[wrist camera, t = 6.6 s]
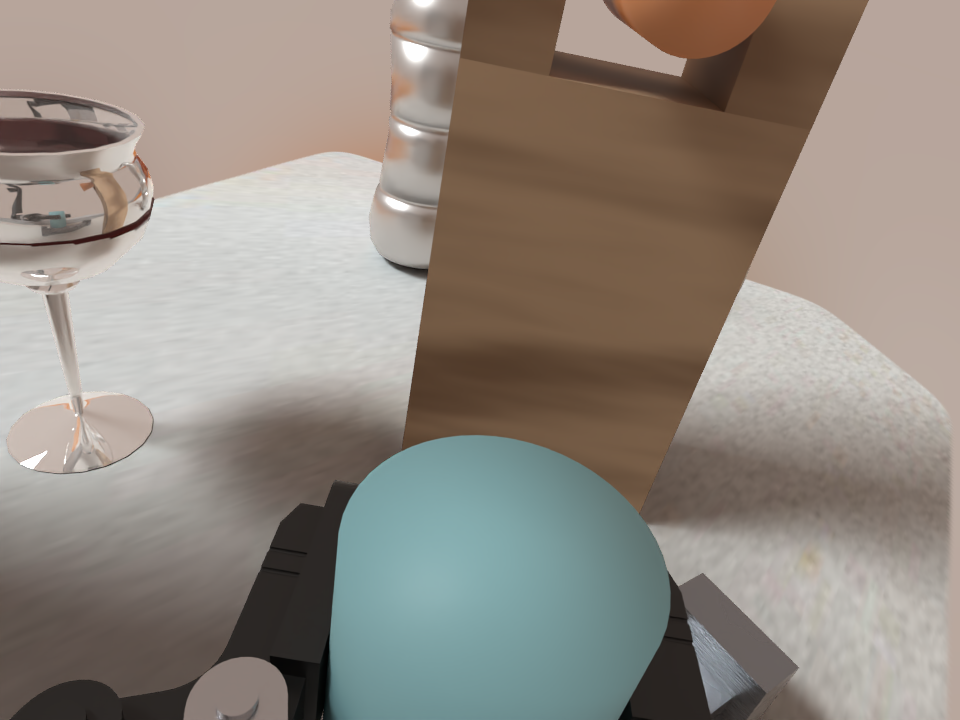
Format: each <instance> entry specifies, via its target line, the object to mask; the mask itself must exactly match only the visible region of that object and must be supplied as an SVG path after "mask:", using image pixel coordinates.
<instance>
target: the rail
mask: <svg viewBox="0 0 960 720" xmlns="http://www.w3.org/2000/svg"><path fill="white" fill-rule="evenodd" d="M678 588H679V589H680V591H681V592H682V596H683V600H684V605H685V609H686V613H687V617H688V620H687V623H688V624H689V626H690V630H691V634H692V638H693V643H692V644H693V646H694V647H695V651H696V655H697V659H698V664H699V668H700V672H701V676H702V680H703V685H704V689H705V693H706V697H707V701H708V706H709V710H710V714H711V718H712V720H758V719H759V718H760V717H761V716H762V714H763V713H764V712H765V710H766V709H767V708H768V707H769V705H770V704H771V703H772V702H773V700H774V699H775V698H776V696H777V695H778V694H779V693H780V691H781V690H782V689H783V688H784V686H785V685H786V684H787V682H788V681H789V680H790V679H791V677H792V676H793V675H794V674H795V672H796V671H797V670H798V669H799V667H798V666H797V665H796V664H795V663H794V662H793V661H792V660H791V659H790V658H789V657H788V656H787V655H786V654H785V653H784V652H783V651H782V650H780V649H779V648H778V647H777V646H776V645H775V644H774V643H773V642H772V641H771V640H770V639H769V638H768V637H767V636H766V635H765V634H764V633H763V632H762V631H761V630H760V629H759V628H758V627H757V626H756V625H755V624H754V623H753V622H752V621H751V620H750V619H749V618H748V617H747V616H746V615H745V614H744V613H743V612H742V611H741V610H740V609H739V608H738V607H737V606H736V605H735V604H734V603H733V602H732V601H731V600H730V599H729V598H728V597H727V596H726V595H725V594H724V593H723V592H722V591H721V590H720V589H719V588H718V587H717V586H716V585H715V584H714V583H713V582H712V581H710V580H709V579H708V578H707V577H706V576H705V575H704V574H703V573H702V574H700V575H699V576H697V577H695V578H693V579H691V580H690V581H688V582H686V583H684V584H682V585H681V586H679V587H678Z"/></svg>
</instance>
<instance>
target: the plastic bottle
mask: <svg viewBox="0 0 960 720" xmlns="http://www.w3.org/2000/svg"><path fill="white" fill-rule="evenodd" d="M467 5H468V0H394V3H393V6H392V8H391V17H390V29H391V35H390V42H391V78H392V83H391V84H392V85H391V100H390V110H391V116H390V117H389V133H388V139H387V144H386V149H385V154H384V160H383V165H382V170H381V175H380V180H379V181H380V183H379V184H378V186H377V188H376V191H375V194H374V197H373V202H372V206H371V210H370V214H369V223H370V236H371V240H372V242H373V244H374V246H375V247H376V249H377V251H378V252H379V254H380V255H381V256H383V257H384V258H386V259H388V260H390V261H391V262H394V263H397V264H399V265H403V266H407V267H412V268H419V269H429V262H430V255H431V248H432V242H433V235H434V228H435V221H436V214H437V208H438V201H439V194H440V187H441V181H442V174H443V167H444V160H445V154H446V147H447V140H448V133H449V127H450V120H451V113H452V106H453V99H454V93H455V86H456V79H457V72H458V66H459V59H460V52H461V45H462V39H463V32H464V25H465V18H466V11H467Z"/></svg>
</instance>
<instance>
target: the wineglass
mask: <svg viewBox="0 0 960 720" xmlns="http://www.w3.org/2000/svg"><path fill="white" fill-rule="evenodd" d="M144 127H145V124H144V123H143V122H142V120H141V119H140V118H139V117H138V116H137V115H135V114H133V113H131V112H129V111H127V110H125V109H123V108H121V107H119V106H115V105H112V104H108V103H105V102H102V101H98V100H95V99H90V98H84V97H79V96H73V95H67V94H62V93H52V92H43V91H32V90H17V89H0V282H1V283H7V284H14V285H20V286H26V287H28V288H29V289H30V290H32V291H33V292H35V293H38V294H42V297H43V301H44V305H45V308H46V312H47V316H48V319H49V323H50V327H51V330H52V334H53V338H54V341H55V345H56V349H57V352H58V356H59V360H60V363H61V367H62V371H63V374H64V378H65V382H66V385H67V389H68V392H69V395H65V396H60V397H58V398H55V399H52V400H50V401H47V402H44V403H42V404H40V405H38V406H36V407H35V408H33V409H31V410H30V411H28V412H26V413H25V414H23V415H22V416H21V417H20V418H19V420H18V421H17V422H16V423H15V424H14V425H13V426H12V427H11V429H10V432H9V434H8V437H7V439H6V441H7V446H8V452H9V453H10V454H11V455H12V457H13V458H14V459H15V460H16V461H17V462H18V463H20V464H22V465H24V466H27V467H29V468H32V469H34V470H36V471H44V472H52V473H71V472H84V471H88V470H91V469H95V468H99V467H103V466H107V465H109V464H111V463H113V462H116V461H118V460H120V459H122V458H124V457H126V456H128V455H129V454H131V453H132V452H133V451H134V450H136V449H137V448H138V447H140V446H141V445H142V444H143V443H144V441H145V440H146V438H147V437H148V436H149V434H150V433H151V430H152V423H153V418H152V416H151V413H150V411H149V409H148V408H147V407H146V406H145V405H144V404H142V403H141V402H140V401H139V400H137V399H135V398H132V397H129V396H127V395H124V394H120V393H113V392H106V391H95V392H82V386H81V379H80V372H79V365H78V357H77V350H76V343H75V336H74V329H73V321H72V314H71V307H70V300H69V292H68V291H71V290H73V289H74V288H75V287H76V286H77V284H78V283H79V282H80V280H84V279H88V278H92V277H94V276H96V275H98V274H100V273H103V272H105V271H107V270H108V269H109V268H110V267H112V266H113V265H114V264H115V263H116V262H117V261H118V260H119V259H121V258H122V257H123V256H124V255H125V254H126V253H127V252H128V251H129V250H130V249H131V248H132V247H133V246H135V245H136V244H137V243H138V242H139V241H140V240H141V239H142V238H143V236H144V233H145V230H146V227H147V224H148V222H149V219H150V215H151V211H152V207H153V203H154V198H153V186H154V185H153V183H152V180H151V177H150V174H149V171H148V168H147V167H146V165H145V164H144V163H143V161H142V160H141V159H140V157H139V156H138V155H137V153H136V151H135V147H136V144H137V142H138V140H139V138H140V137H141V135H142V133H143V130H144Z"/></svg>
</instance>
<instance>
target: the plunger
mask: <svg viewBox="0 0 960 720" xmlns="http://www.w3.org/2000/svg"><path fill="white" fill-rule="evenodd" d="M603 1H604V3H605V4H606V6H607V8H608V9H609V10H610V11H611V13H612V14H613V15H615V16H616V17H617V18H618V19H619V20H621V21H622V22H623V23H625V24H626V25H628V26H629V27H630V28H631V29H633V30H634V31H635V32H637V33H638V34H639V35H641V36H642V37H644V38H645V39H646V40H647V41H649V42H650V43H651V44H653V45H654V46H655V47H657V48H658V49H660V50H661V51H663V52H665V53H668V54H670V55H673V56H676V57H680V58H687V59H700V58H707V57H711V56H715V55H718V54H721V53H723V52H725V51H728V50H730V49H731V48H733V47H735V46H737V45H738V44H740V43H741V42H742V41H744V40H745V39H746V38H748V37H749V36H750V35H751V34H752V33H753V32H754V31H755V30H756V29H757V28H758V27H759V26H760V25H761V23H762V22H763V21H764V20H765V18H766V17H767V15H768V14H769V13H770V11H771V9H772V8H773V6H774V4H775V2H776V1H777V0H603Z"/></svg>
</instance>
